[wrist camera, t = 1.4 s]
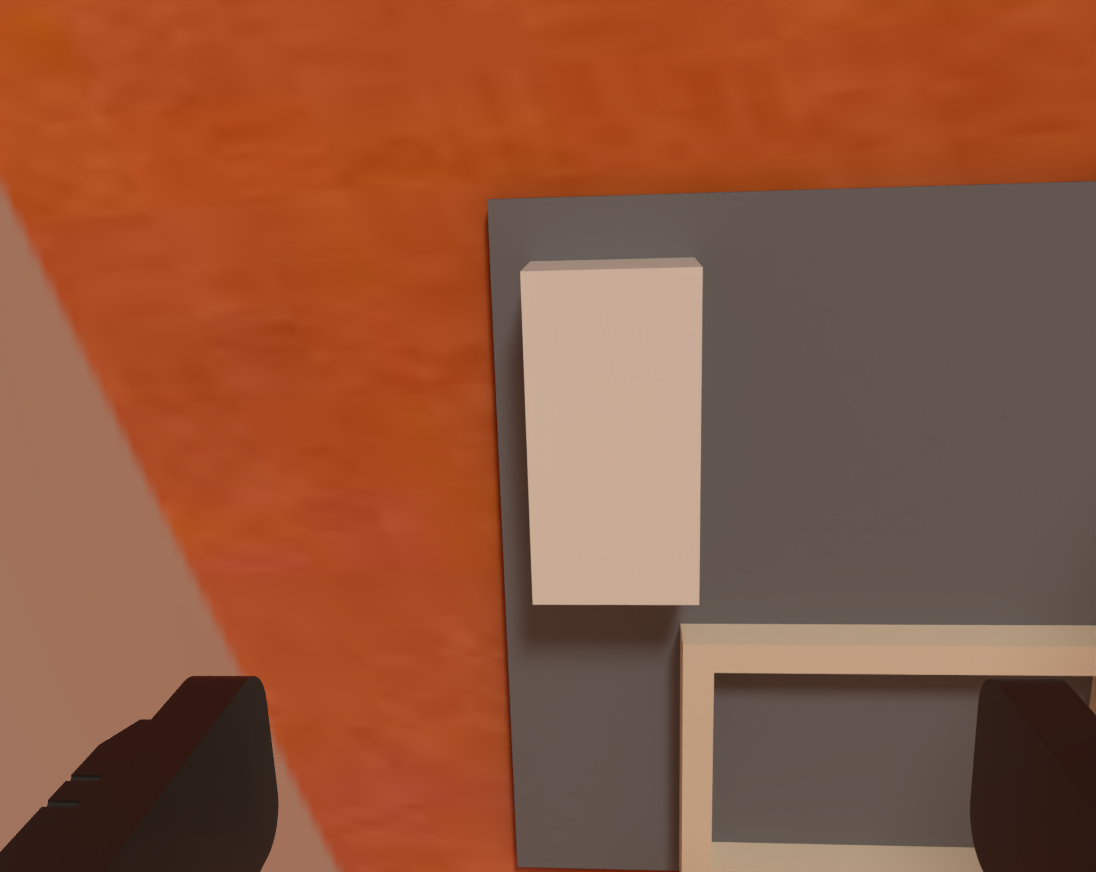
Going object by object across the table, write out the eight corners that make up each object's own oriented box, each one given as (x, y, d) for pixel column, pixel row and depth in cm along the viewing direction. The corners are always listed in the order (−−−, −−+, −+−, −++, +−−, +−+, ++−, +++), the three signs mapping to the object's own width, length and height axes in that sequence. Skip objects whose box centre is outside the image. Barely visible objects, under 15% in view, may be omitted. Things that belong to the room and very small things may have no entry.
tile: (530, 261, 24) (520, 271, 22) (694, 257, 24) (702, 267, 21) (540, 564, 26) (532, 604, 24) (692, 564, 26) (699, 604, 23)
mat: (490, 198, 24) (479, 201, 23) (1209, 177, 23) (1257, 178, 21) (519, 853, 29) (513, 896, 27) (1112, 866, 28) (1145, 912, 26)
